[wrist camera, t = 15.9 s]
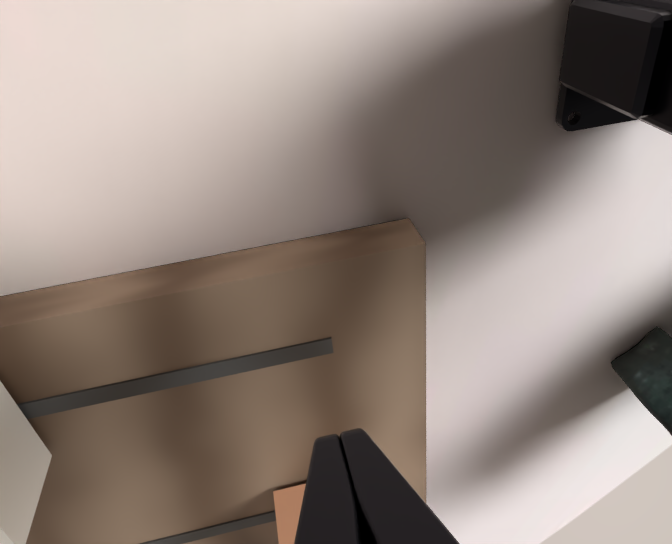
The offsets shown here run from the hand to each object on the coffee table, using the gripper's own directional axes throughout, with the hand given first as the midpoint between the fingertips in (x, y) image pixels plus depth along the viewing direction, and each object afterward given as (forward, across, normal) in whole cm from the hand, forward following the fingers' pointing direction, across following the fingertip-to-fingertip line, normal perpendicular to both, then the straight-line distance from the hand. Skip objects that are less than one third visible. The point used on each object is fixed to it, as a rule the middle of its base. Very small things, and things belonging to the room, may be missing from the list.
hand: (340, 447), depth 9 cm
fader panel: (+12, +6, +13) cm, 19 cm away
